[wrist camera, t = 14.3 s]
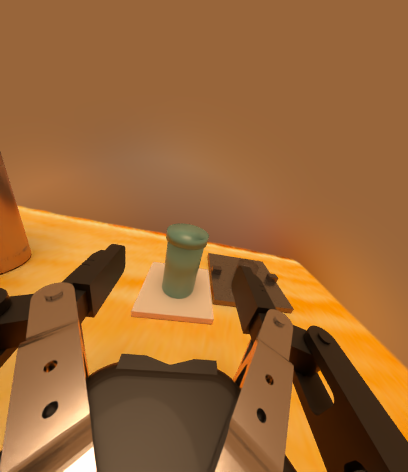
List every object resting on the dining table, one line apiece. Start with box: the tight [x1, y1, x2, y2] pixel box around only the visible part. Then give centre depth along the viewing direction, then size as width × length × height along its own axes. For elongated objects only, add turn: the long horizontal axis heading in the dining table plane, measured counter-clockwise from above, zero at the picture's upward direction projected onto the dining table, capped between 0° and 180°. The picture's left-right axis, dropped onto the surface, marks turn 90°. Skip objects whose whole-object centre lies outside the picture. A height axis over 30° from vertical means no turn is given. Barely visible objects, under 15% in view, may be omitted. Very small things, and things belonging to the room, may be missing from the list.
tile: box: [131, 262, 214, 324], centre depth 26 cm, size 11×11×1 cm
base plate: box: [208, 253, 294, 313], centre depth 31 cm, size 14×14×4 cm
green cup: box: [162, 224, 209, 299], centre depth 24 cm, size 6×6×10 cm
